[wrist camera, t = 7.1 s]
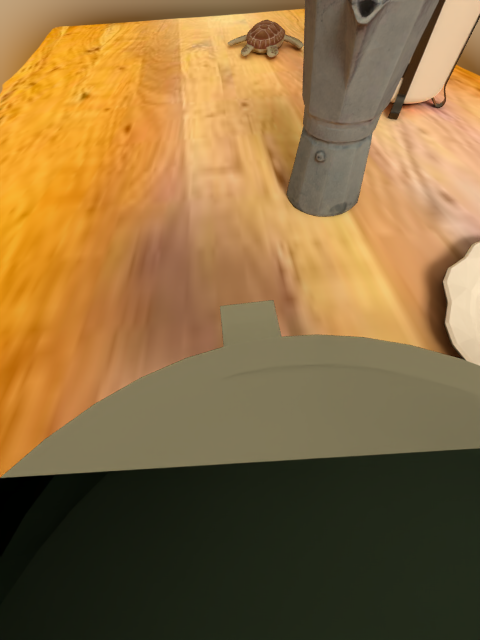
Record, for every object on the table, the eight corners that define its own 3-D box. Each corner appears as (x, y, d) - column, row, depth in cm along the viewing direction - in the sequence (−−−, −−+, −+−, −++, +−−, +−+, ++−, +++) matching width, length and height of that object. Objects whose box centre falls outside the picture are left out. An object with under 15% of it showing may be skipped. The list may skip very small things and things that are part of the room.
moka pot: (272, 228, 31) (302, -91, 13) (290, 157, 38) (324, -103, 21) (357, 239, 29) (512, -100, 12) (358, 164, 37) (454, -110, 20)
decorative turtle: (307, 42, 66) (311, 12, 62) (297, 65, 58) (300, 32, 54) (237, 39, 69) (237, 10, 65) (219, 61, 61) (216, 30, 57)
